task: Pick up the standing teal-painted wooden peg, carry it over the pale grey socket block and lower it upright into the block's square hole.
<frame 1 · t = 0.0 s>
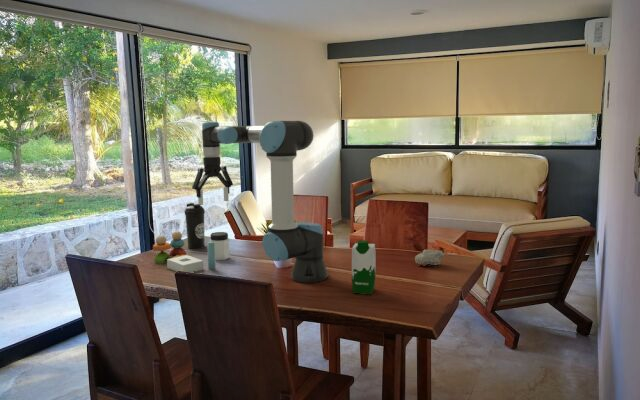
hand: (213, 202, 237), 28 cm above the table, fingers open, 13 cm apart
jar: (220, 258, 248), on the table
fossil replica: (428, 266, 231), on the table
milk carton: (363, 292, 197), on the table
water bottle: (196, 247, 271), on the table
colourful stacking toy: (176, 259, 248), on the table
peg: (211, 268, 230), on the table
socket block: (185, 268, 231), on the table
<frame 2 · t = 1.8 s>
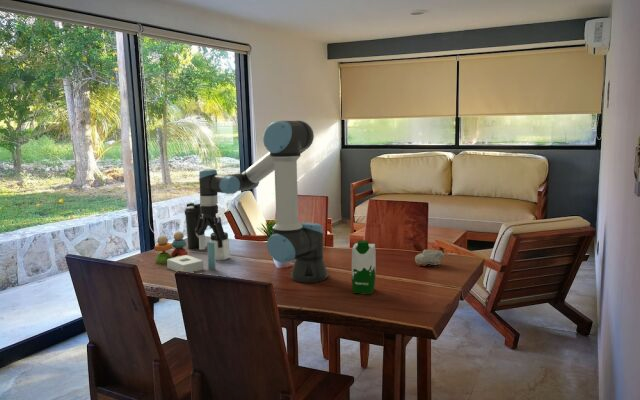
hand: (210, 251, 229), 8 cm above the table, fingers open, 13 cm apart
colourful stacking toy: (177, 259, 248), on the table
everything else where it was.
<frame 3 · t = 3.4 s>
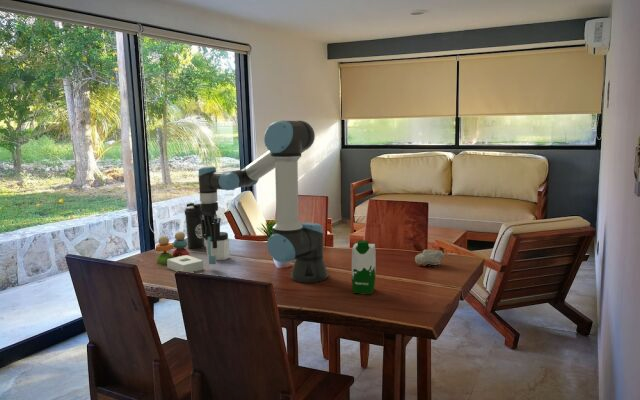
hand: (212, 254, 229), 7 cm above the table, fingers closed on peg, 3 cm apart
peg: (212, 263, 229), point 3 cm above the table, touching gripper
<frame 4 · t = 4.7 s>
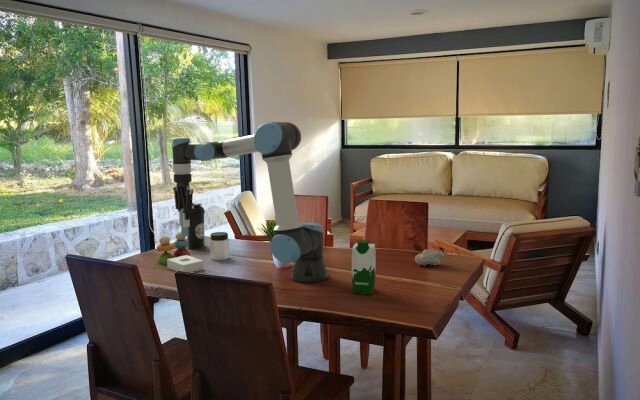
hand: (184, 226, 228), 19 cm above the table, fingers closed on peg, 3 cm apart
peg: (185, 235, 229), point 15 cm above the table, touching gripper
when the fingers open (5 cm above the table, at t = 6.5 s): peg stays where it is, resting in socket block.
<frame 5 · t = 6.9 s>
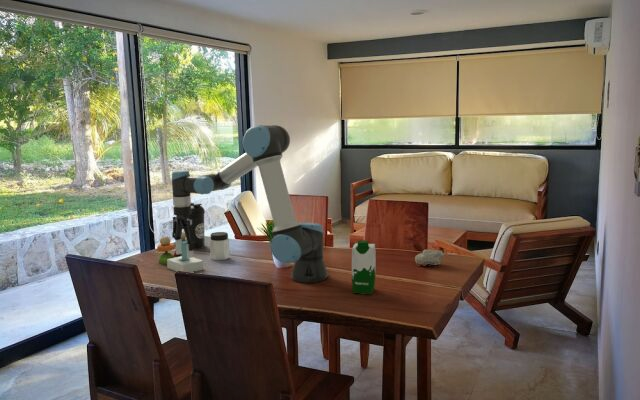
hand: (184, 255, 230), 6 cm above the table, fingers open, 9 cm apart
peg: (185, 268, 231), resting in socket block
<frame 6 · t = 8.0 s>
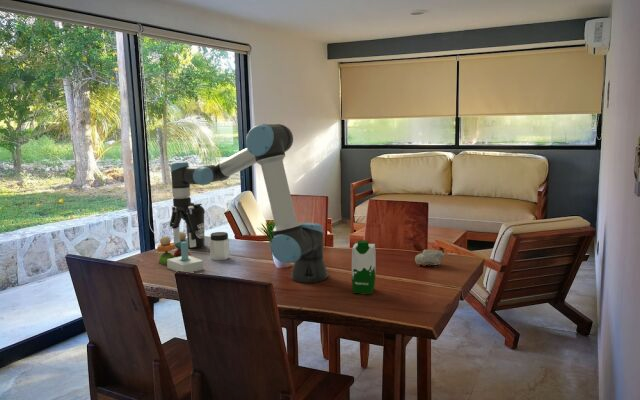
hand: (184, 244, 229), 11 cm above the table, fingers open, 13 cm apart
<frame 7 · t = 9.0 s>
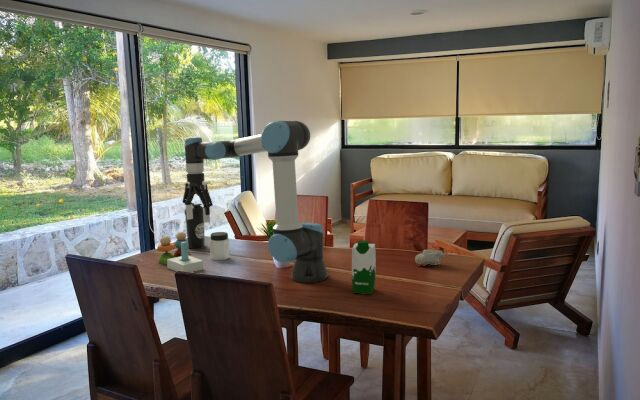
hand: (198, 220, 229), 21 cm above the table, fingers open, 13 cm apart
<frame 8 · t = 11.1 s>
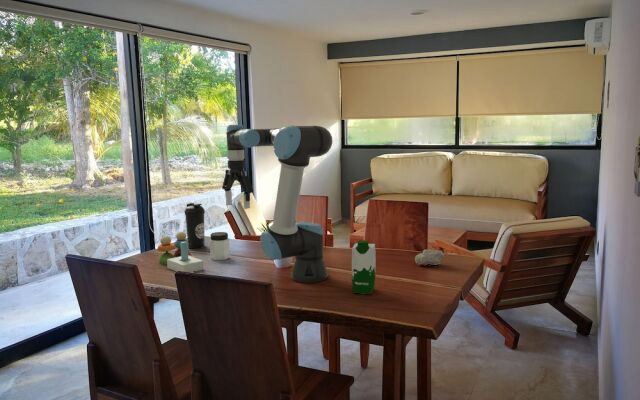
hand: (237, 206, 233), 27 cm above the table, fingers open, 13 cm apart
at the end: peg 0.2 cm off-centre on the socket block, point 0.0 cm above the socket block's base; peg tilted 1°; the gripper is holding nothing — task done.
